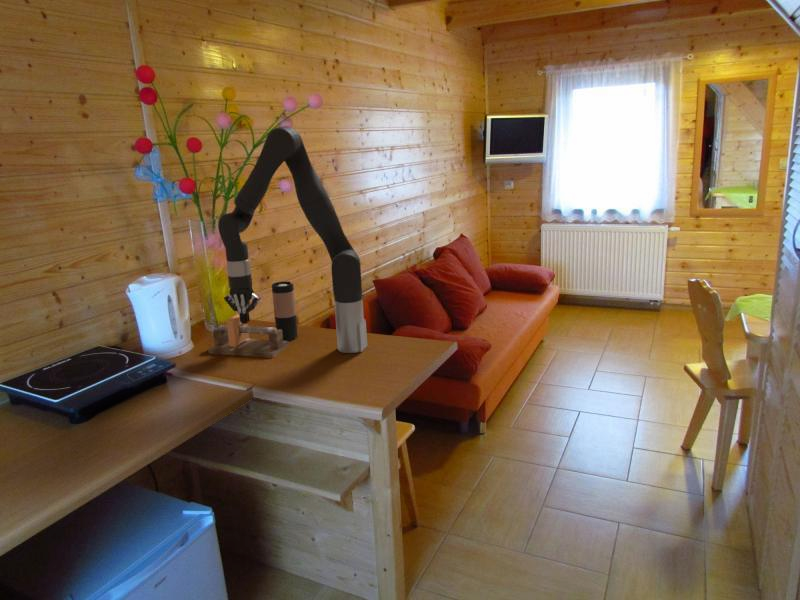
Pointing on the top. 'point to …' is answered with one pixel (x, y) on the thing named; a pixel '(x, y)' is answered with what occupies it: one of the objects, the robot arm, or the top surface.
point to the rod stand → (249, 342)
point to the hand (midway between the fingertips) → (245, 323)
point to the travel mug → (285, 309)
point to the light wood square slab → (235, 331)
